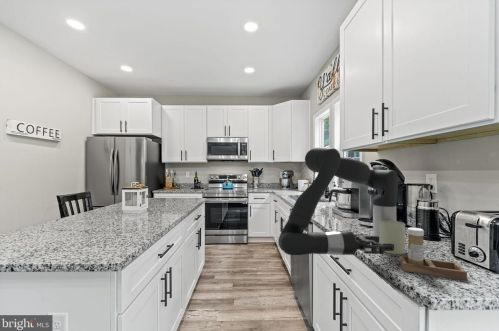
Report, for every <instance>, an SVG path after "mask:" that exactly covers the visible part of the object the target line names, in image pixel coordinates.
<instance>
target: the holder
mask: <svg viewBox="0 0 499 331" xmlns="http://www.w3.org/2000/svg"><path fill="white" fill-rule="evenodd" d="M398 255H399V264H400V266H401V269H402V271H403V272H408V273H415V274H420V275H421V274H422V275H426V276H427V275H429V276H434V277H435V276H436V277H442V278H449V279H456V280H463V281H468V272H467V271H466V269H464V268H463V267H462V266H461V265H460V264H458V262H456V261H455V262H453V261H446V260H445V261H444V260H439V259H430V258H424V257H423V265H417V264H410V263H408V255H407V256H406V255H401V254H398Z"/></svg>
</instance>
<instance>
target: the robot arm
mask: <svg viewBox="0 0 499 331" xmlns="http://www.w3.org/2000/svg"><path fill="white" fill-rule="evenodd" d="M304 163H305V165H306V167H307V169H309V170H310V171H312V172H314V173H317V176H316V177H315V179H314V180H313V181H312V183H311V184H310V185H309V186H308V187H307V188H305V190H304V191H303V192H302V193H300V195H299V196H298V198H297V199H296V201H295V202H294V204H293V207H292V208H291V211H290V214H289V217H288V220H287V221H286V223H285V224H284V226H283V229H282V231H281V232H280V234H279V237H278V239H277V241H278V246H279V248H280V250H281V251H282V252H283V253H284V254H287V255H289V256H304V255H332V256H337V255H338V256H353V255H355V254H356V252H357V251H358V250H359V251H361V252H363V253H364V254H367V255H368V254H369V255H384V254H385V252H384V251H394V244H392V243H380V221H382V220H391V221H397V201H398V191H399V190H398V189H399V188H398V187H399V176H398V173H397V172H396V171H395V170H393V169H370V166H369V165H368V164H367V163H365V162H363V161H360V160H359V159H355V158H351V157H344V156H341V154H340V152H339V150H338V149H337V148H335V147H315V148H314V147H313V148H311V149H310V150H308V151H307V152H306V154H305V156H304ZM334 177H336V178H339V179H342V180H344V181H347V182H351V183H354V184H359V185H365V186H367V187H368V188H371V189H374V190H378V191H384V194H383V195H381V196H377V197H374V198H372V217H373V218H372V235H367V234H365V235H364V234H363V233H353V232H352V231H335V230H334V231H325V232H323V231H320V232H319V231H317V232H316V231H314V232H313V231H312V232H308V233H305V232H304V231H305V230H306V229H307V228H308V227H309V225H310V224H311V221H312V218H313V215H314V213H315V210H316V208H317V206H318V204H319V202H320V200H321V199H322V196H323V195H324V194H325V192H326V190H327V188H328V187H329V185H330V184H331V182H332V181H333V178H334Z"/></svg>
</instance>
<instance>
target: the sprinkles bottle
mask: <svg viewBox="0 0 499 331" xmlns="http://www.w3.org/2000/svg"><path fill="white" fill-rule="evenodd" d="M407 235H408V236H407V237H408V239H407V240H408V241H407V242H408V243H407V256H408V263H410V264H417V265H423V258H424V236H425V231H424V229H423V228H419V227H408V228H407Z"/></svg>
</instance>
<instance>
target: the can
mask: <svg viewBox="0 0 499 331" xmlns="http://www.w3.org/2000/svg"><path fill="white" fill-rule="evenodd" d="M405 234H406V223H404V222H403V221H398V220H396V221H391V220H382V221H380V243H392V244H394V251H384V253H388V254H393V255H403V254H406V240H405V239H406V235H405Z"/></svg>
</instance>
